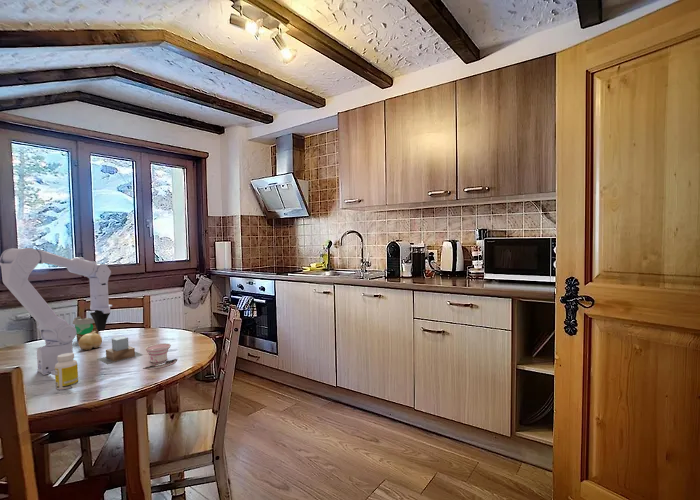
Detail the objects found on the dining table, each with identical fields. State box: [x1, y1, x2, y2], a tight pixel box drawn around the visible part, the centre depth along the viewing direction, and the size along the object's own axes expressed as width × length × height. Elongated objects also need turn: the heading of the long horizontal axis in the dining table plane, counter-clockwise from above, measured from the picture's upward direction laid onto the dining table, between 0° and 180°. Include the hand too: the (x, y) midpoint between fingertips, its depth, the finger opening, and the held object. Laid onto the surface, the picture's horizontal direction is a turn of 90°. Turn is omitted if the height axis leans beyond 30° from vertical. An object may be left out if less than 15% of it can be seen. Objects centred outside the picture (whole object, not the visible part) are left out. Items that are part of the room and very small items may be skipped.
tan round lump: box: [77, 331, 103, 351], centre depth 149 cm, size 8×8×7 cm
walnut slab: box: [105, 345, 136, 361], centre depth 134 cm, size 7×7×3 cm
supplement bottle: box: [54, 352, 79, 391], centre depth 109 cm, size 5×5×10 cm
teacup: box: [142, 343, 177, 370], centre depth 129 cm, size 12×12×6 cm
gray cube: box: [111, 335, 130, 351], centre depth 134 cm, size 4×4×4 cm
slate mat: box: [96, 351, 144, 365], centre depth 134 cm, size 12×10×1 cm
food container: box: [72, 316, 99, 342], centre depth 162 cm, size 12×6×10 cm, turn 73°
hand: (101, 330), depth 139 cm, fingers closed
